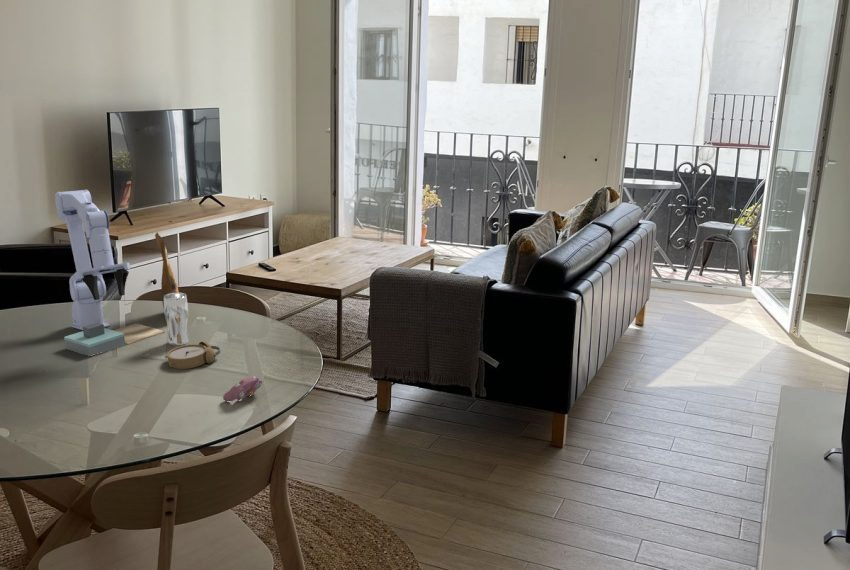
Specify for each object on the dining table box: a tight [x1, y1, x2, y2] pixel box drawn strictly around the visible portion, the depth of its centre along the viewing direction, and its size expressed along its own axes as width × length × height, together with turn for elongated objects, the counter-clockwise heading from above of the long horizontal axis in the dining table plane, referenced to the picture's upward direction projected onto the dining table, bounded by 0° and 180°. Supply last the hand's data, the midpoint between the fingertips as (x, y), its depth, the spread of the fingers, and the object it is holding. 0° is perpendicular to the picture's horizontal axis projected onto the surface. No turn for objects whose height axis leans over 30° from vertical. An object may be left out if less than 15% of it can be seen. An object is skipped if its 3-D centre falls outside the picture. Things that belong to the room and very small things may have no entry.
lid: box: [63, 323, 124, 347], centre depth 246 cm, size 12×12×4 cm
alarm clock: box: [165, 341, 222, 370], centre depth 237 cm, size 11×5×15 cm
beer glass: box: [163, 292, 190, 347], centre depth 251 cm, size 7×7×15 cm
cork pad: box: [112, 322, 166, 345], centre depth 260 cm, size 14×14×1 cm
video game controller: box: [222, 375, 263, 402], centre depth 212 cm, size 10×5×7 cm, turn 148°
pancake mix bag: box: [154, 231, 180, 310], centre depth 273 cm, size 7×19×28 cm, turn 17°
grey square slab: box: [63, 336, 126, 357], centre depth 247 cm, size 12×12×3 cm
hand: (109, 297), depth 242 cm, fingers open, 7 cm apart
